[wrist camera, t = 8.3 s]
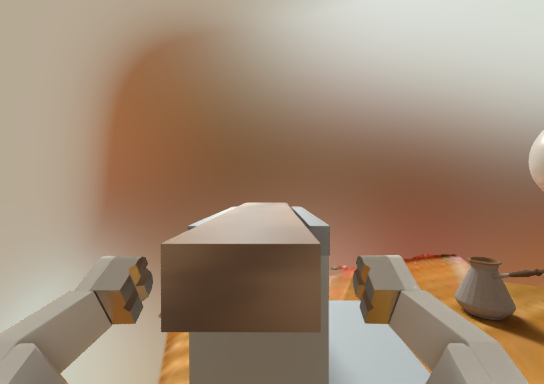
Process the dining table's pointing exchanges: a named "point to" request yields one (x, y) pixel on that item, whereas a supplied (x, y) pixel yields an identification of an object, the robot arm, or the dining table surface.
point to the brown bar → (243, 274)
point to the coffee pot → (488, 289)
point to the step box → (307, 344)
